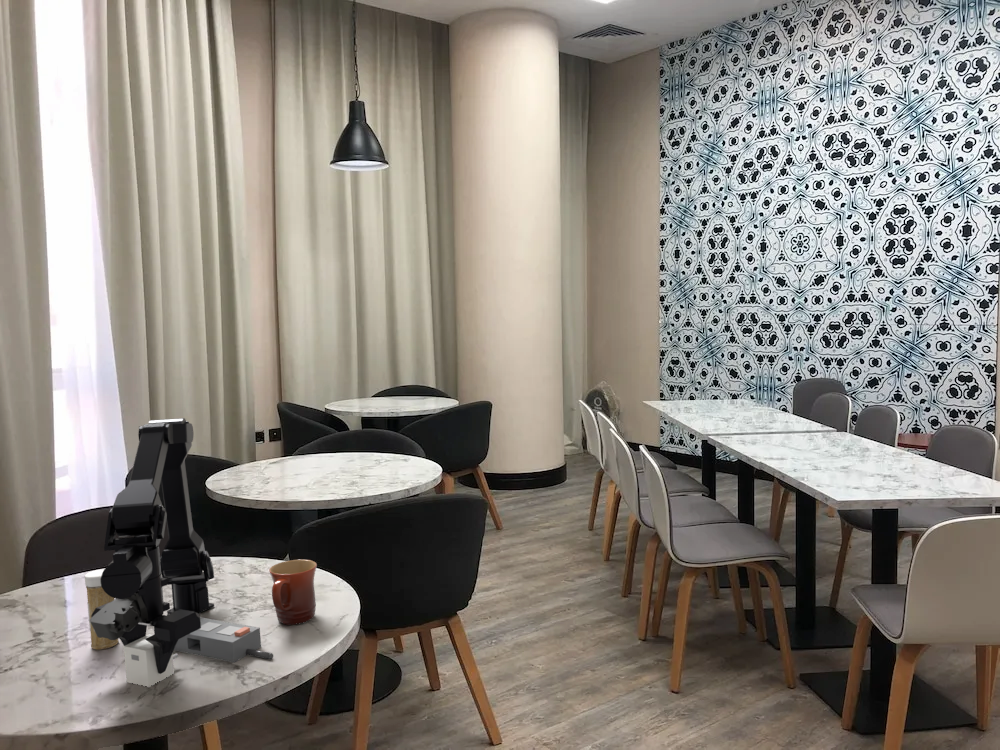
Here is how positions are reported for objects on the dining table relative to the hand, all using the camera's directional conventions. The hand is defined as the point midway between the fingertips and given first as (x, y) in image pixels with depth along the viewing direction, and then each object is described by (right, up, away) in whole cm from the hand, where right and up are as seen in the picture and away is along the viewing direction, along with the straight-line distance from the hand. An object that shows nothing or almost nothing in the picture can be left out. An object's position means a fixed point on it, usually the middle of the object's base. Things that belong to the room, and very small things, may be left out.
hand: (149, 670), depth 129 cm
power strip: (+8, 0, +10) cm, 13 cm away
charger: (+1, -1, +1) cm, 2 cm away
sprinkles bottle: (-14, -1, +14) cm, 20 cm away
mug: (+18, +1, +21) cm, 27 cm away
